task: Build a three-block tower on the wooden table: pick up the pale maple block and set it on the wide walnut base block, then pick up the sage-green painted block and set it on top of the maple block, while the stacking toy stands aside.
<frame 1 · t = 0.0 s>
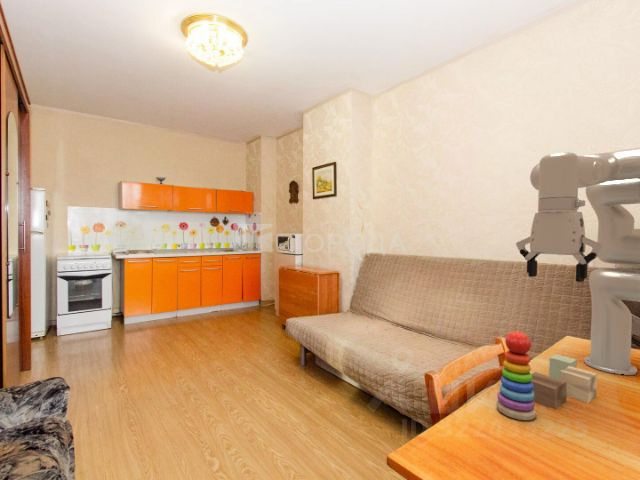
hand: (555, 278, 77), 31 cm above the table, tool pointing down, fingers open, 9 cm apart
maple block: (577, 395, 85), on the table
stacking toy: (515, 413, 76), on the table
sage block: (562, 379, 94), on the table
walnut base: (544, 399, 82), on the table
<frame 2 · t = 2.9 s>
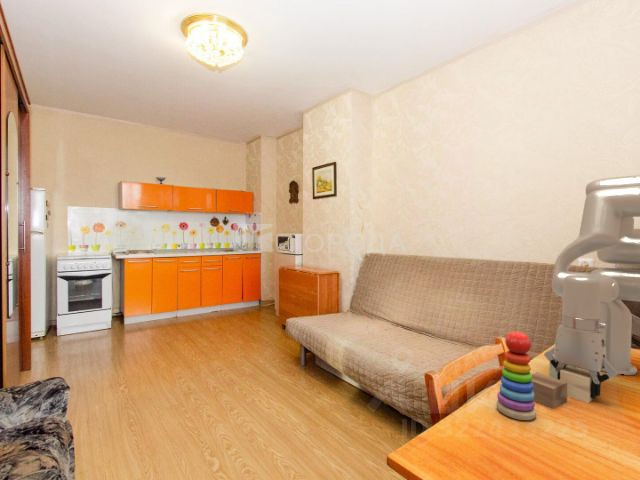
hand: (577, 391, 85), 1 cm above the table, tool pointing down, fingers closed on maple block, 6 cm apart
maple block: (577, 394, 85), on the table, touching gripper
everything else where it was.
when the fingers open (7 cm above the table, at t = 7.0 s): maple block drops 1 cm, resting on walnut base.
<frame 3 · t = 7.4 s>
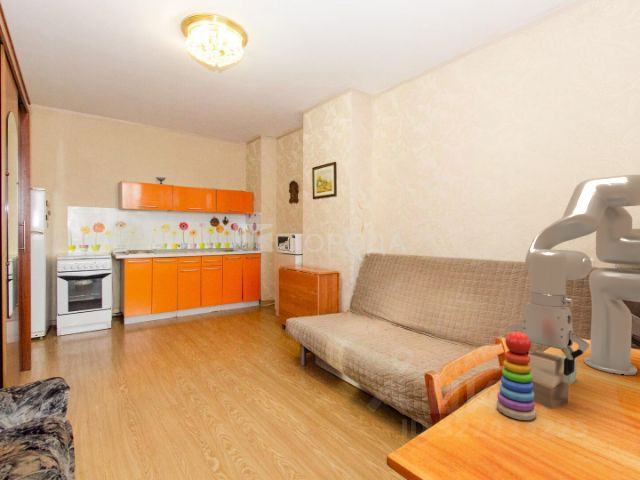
hand: (545, 367, 82), 8 cm above the table, tool pointing down, fingers open, 9 cm apart
maple block: (544, 379, 82), point 5 cm above the table, touching walnut base
walnut base: (544, 399, 82), on the table, touching maple block
everything else where it was.
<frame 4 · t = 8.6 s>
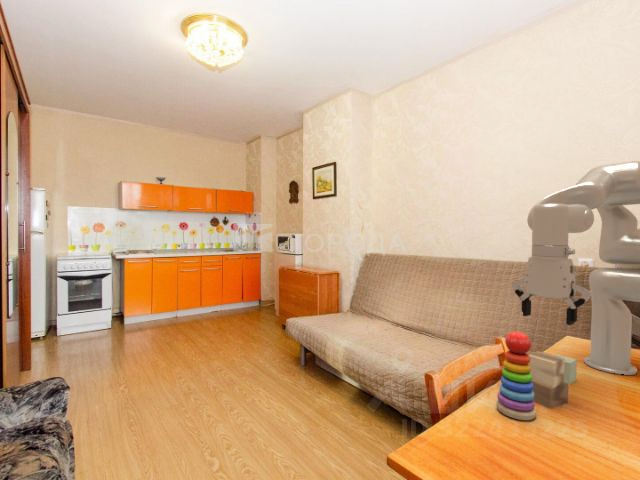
hand: (547, 319, 82), 20 cm above the table, tool pointing down, fingers open, 9 cm apart
nothing on the table moved.
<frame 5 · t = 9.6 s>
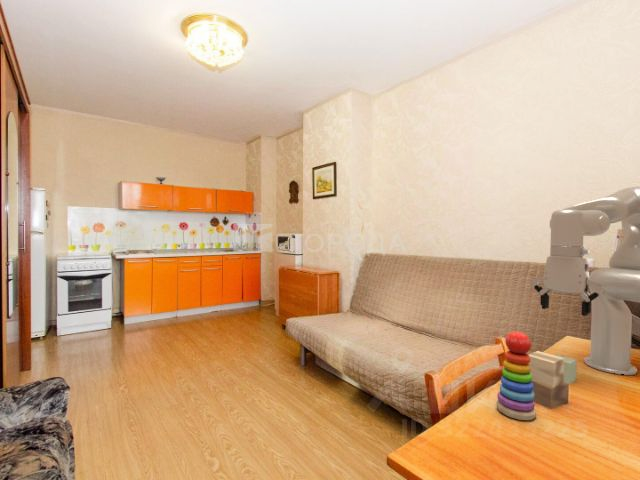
hand: (564, 311, 94), 20 cm above the table, tool pointing down, fingers open, 9 cm apart
nothing on the table moved.
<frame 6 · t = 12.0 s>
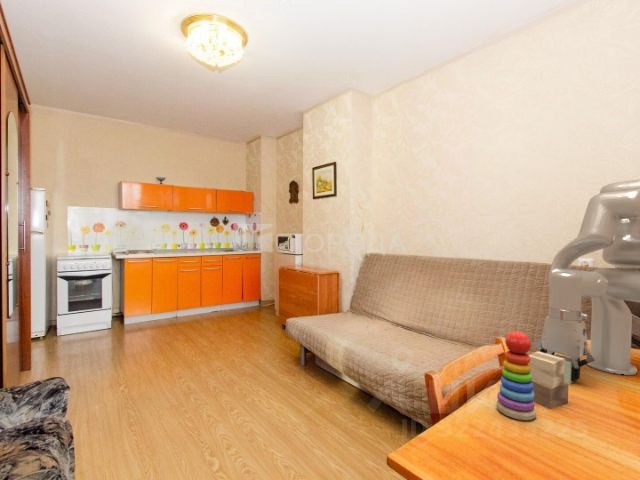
hand: (562, 376, 94), 1 cm above the table, tool pointing down, fingers closed on sage block, 5 cm apart
sage block: (562, 378, 94), on the table, touching gripper
everything else where it was.
when the fingers open (13 cm above the table, at t = 16.6 s): sage block drops 2 cm, resting on maple block.
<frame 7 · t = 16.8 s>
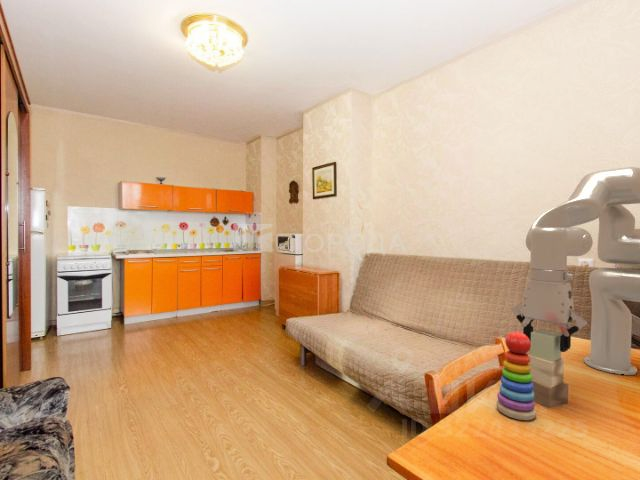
hand: (545, 345, 82), 14 cm above the table, tool pointing down, fingers open, 7 cm apart
maple block: (543, 380, 82), point 5 cm above the table, touching sage block, walnut base
sage block: (545, 356, 82), point 11 cm above the table, touching maple block
everything else where it was.
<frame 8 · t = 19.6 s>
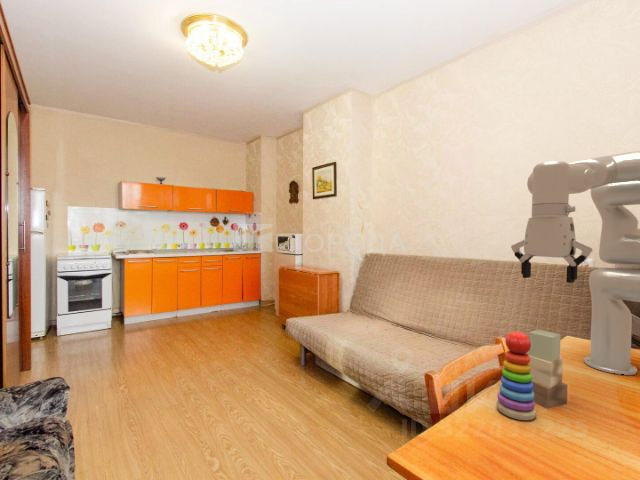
hand: (547, 279, 82), 30 cm above the table, tool pointing down, fingers open, 9 cm apart
nothing on the table moved.
at the end: maple block 0.1 cm off-centre on the walnut base, point 5.0 cm above the walnut base's base; sage block 0.2 cm off-centre on the maple block, point 6.0 cm above the maple block's base; sage block tilted 0° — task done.
